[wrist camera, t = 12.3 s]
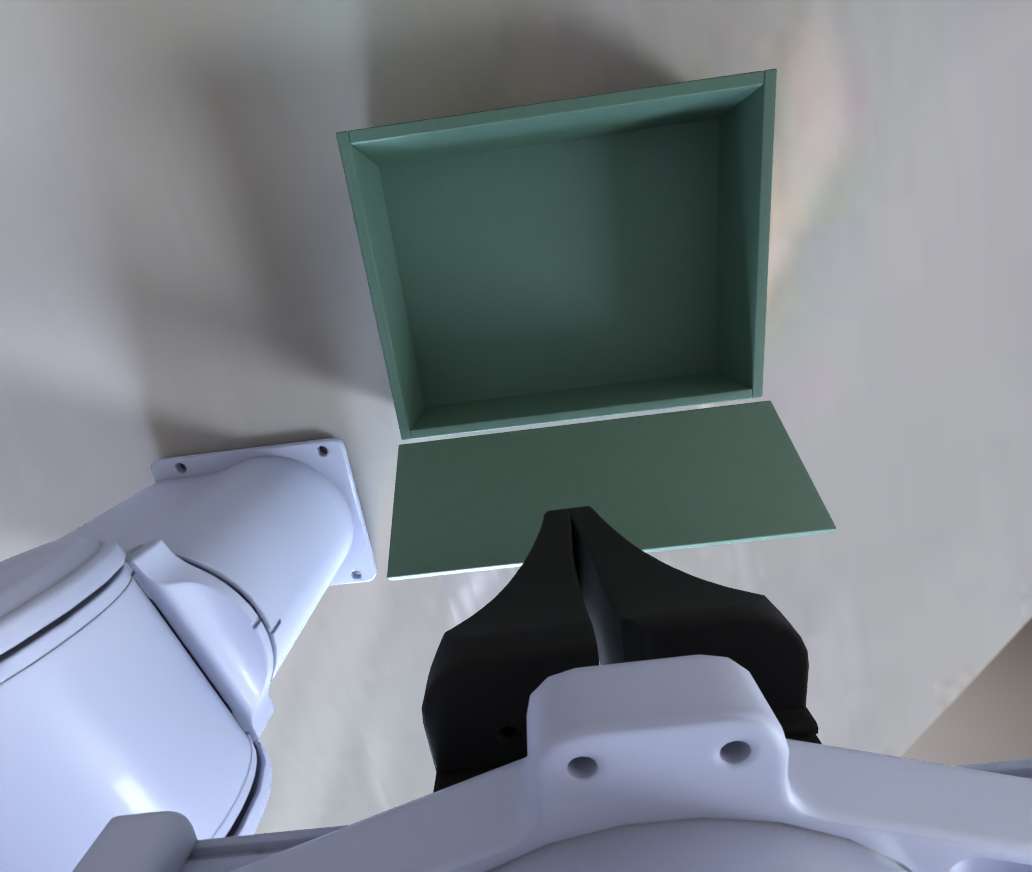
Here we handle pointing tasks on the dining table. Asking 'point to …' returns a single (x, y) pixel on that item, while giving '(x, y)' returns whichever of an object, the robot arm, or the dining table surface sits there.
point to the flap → (601, 487)
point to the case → (569, 254)
